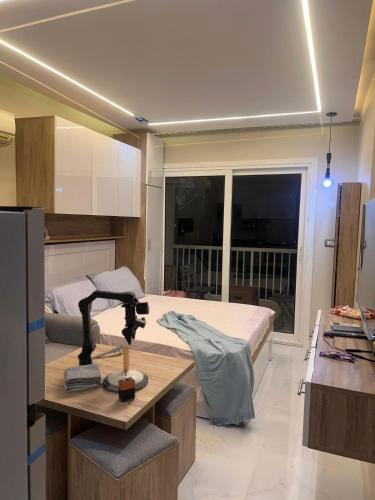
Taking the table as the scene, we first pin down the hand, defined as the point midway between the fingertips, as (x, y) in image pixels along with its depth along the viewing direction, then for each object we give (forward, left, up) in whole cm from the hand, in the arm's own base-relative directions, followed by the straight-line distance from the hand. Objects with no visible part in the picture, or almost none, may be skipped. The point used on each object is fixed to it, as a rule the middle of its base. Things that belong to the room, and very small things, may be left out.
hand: (131, 342), depth 200 cm
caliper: (-19, +19, -16) cm, 31 cm away
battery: (+4, -33, -16) cm, 37 cm away
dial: (0, -16, -14) cm, 21 cm away
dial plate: (0, -17, -15) cm, 23 cm away
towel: (-21, -20, -16) cm, 33 cm away
